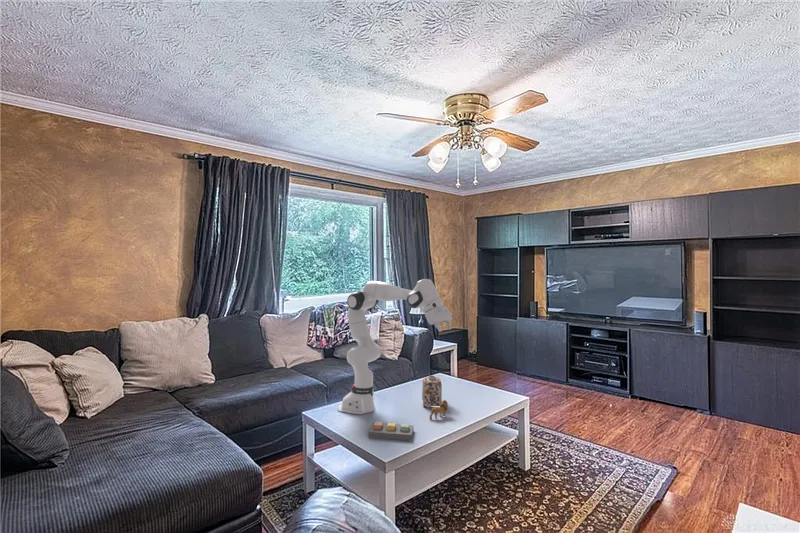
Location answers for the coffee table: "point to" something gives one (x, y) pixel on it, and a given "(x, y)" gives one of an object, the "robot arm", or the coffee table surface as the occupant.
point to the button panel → (391, 433)
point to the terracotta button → (378, 425)
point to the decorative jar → (432, 391)
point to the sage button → (404, 427)
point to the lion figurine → (439, 409)
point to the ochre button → (391, 426)
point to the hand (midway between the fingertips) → (445, 330)
